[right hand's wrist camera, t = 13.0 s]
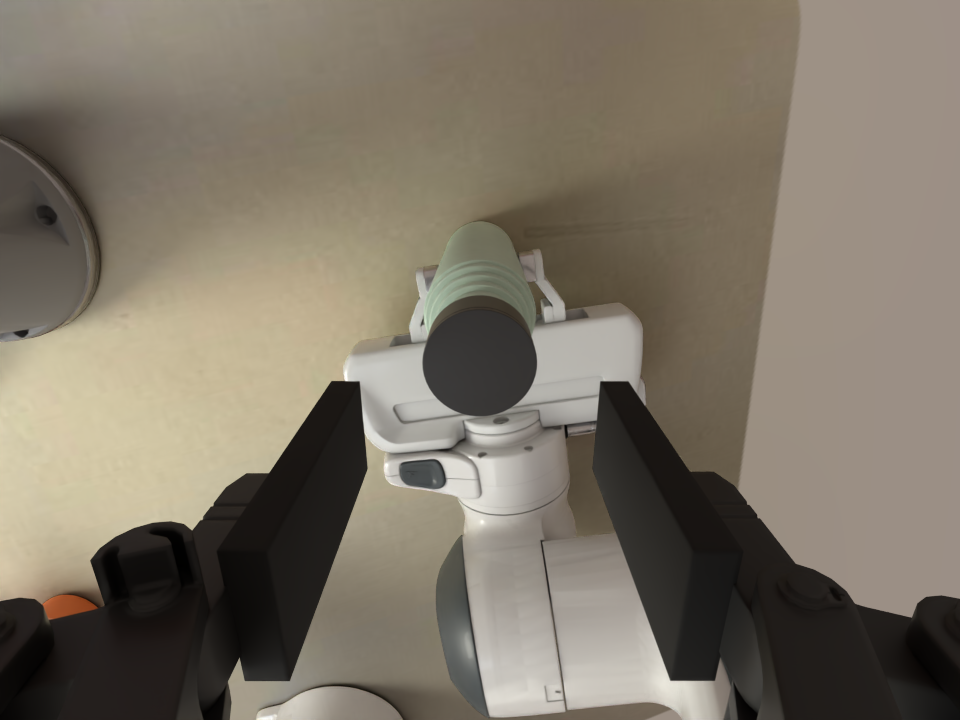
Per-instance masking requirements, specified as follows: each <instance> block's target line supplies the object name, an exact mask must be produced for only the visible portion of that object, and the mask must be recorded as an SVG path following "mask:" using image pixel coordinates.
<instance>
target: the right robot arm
mask: <svg viewBox="0 0 960 720" xmlns="http://www.w3.org/2000/svg"><path fill="white" fill-rule="evenodd" d="M99 269H100V258H99V248H98V243H97V238H96V235H95V232H94V228H93V226H92V223H91V221H90V218H89V216H88V214H87V212H86V210H85V208H84V206H83V205H82V203H81V201H80V200H79V198H78V197H77V195H76V194H75V192H74V191H73V190H72V188H71V187H70V186H69V185H68V183H67V182H66V181H65V180H64V179H63V178H62V176H61V175H60V174H59V173H58V172H57V171H56V170H55V169H54V168H52V167H51V166H50V165H49V164H48V163H47V162H46V161H44V160H43V159H42V158H41V157H39V156H38V155H37V154H35V153H34V152H32V151H31V150H29V149H28V148H26V147H24V146H22V145H21V144H19V143H17V142H15V141H13V140H11V139H8V138H6V137H4V136H1V135H0V342H7V341H17V340H23V339H28V338H33V337H37V336H41V335H43V334H46V333H48V332H51V331H54V330H56V329H59V328H61V327H63V326H65V325H67V324H68V323H70V322H71V321H73V320H74V319H75V318H76V317H78V316H79V315H80V314H81V313H82V312H83V310H84V309H85V308H86V307H87V305H88V304H89V302H90V300H91V298H92V296H93V294H94V292H95V289H96V286H97V282H98V277H99ZM366 472H367V457H366V446H365V435H364V423H363V412H362V400H361V389H360V381H331V383H330V384H329V386H328V387H327V389H326V390H325V392H324V393H323V395H322V396H321V398H320V399H319V400H318V402H317V403H316V405H315V406H314V408H313V409H312V411H311V412H310V414H309V415H308V417H307V418H306V420H305V421H304V423H303V424H302V426H301V427H300V428H299V430H298V431H297V433H296V434H295V436H294V437H293V439H292V440H291V442H290V443H289V445H288V446H287V448H286V449H285V451H284V452H283V454H282V455H281V457H280V458H279V459H278V461H277V462H276V464H275V465H274V467H273V468H272V470H271V471H270V473H246V474H245V475H244V476H242V477H241V478H239V479H238V480H236V481H235V482H233V483H232V484H230V485H229V486H227V487H226V488H225V489H224V491H223V492H222V493H221V495H220V496H219V497H218V498H217V500H216V501H215V502H214V506H213V507H210V509H209V510H208V511H207V513H206V514H205V515H204V516H203V520H200V522H199V523H198V524H197V525H196V527H195V528H194V529H193V530H191V529H189V528H188V527H187V526H186V525H184V524H181V523H176V522H171V521H170V522H157V523H151V524H147V525H144V526H140V527H136V528H133V529H131V530H129V531H127V532H125V533H123V534H121V535H119V536H116V537H115V538H113V539H112V540H111V541H109V542H108V543H107V544H105V545H104V546H102V547H101V548H100V549H99V550H98V551H97V553H96V554H95V555H94V556H93V558H92V559H91V560H90V561H91V564H92V567H93V570H94V573H95V576H96V579H97V583H98V586H99V589H100V592H101V595H102V598H103V601H104V604H105V606H104V607H101V608H98V609H94V610H90V611H85V612H81V613H77V614H73V615H68V616H64V617H60V618H55V619H51V620H49V619H48V617H47V614H46V611H45V609H44V606H43V605H42V604H40V603H39V602H38V601H36V600H35V599H27V598H15V599H10V600H5V601H0V720H230V711H231V696H230V689H229V685H228V680H229V678H230V676H231V674H232V672H233V670H234V668H235V666H236V664H237V661H238V659H239V657H240V661H241V665H242V670H243V674H244V679H245V681H290V679H291V676H292V673H293V671H294V668H295V665H296V662H297V660H298V657H299V654H300V651H301V649H302V646H303V643H304V641H305V638H306V635H307V632H308V630H309V627H310V624H311V622H312V619H313V616H314V613H315V611H316V608H317V605H318V602H319V600H320V597H321V594H322V592H323V589H324V586H325V583H326V581H327V578H328V575H329V572H330V570H331V567H332V564H333V562H334V559H335V556H336V553H337V551H338V548H339V545H340V542H341V540H342V537H343V534H344V532H345V529H346V526H347V523H348V521H349V518H350V515H351V512H352V510H353V507H354V504H355V502H356V499H357V496H358V493H359V491H360V488H361V485H362V483H363V480H364V477H365V474H366ZM593 472H594V474H595V477H596V480H597V483H598V485H599V488H600V491H601V493H602V496H603V499H604V502H605V504H606V507H607V510H608V512H609V515H610V518H611V521H612V523H613V526H614V529H615V532H616V534H617V537H618V540H619V542H620V545H621V548H622V551H623V553H624V556H625V559H626V562H627V564H628V567H629V570H630V572H631V575H632V578H633V581H634V583H635V586H636V589H637V592H638V594H639V597H640V600H641V602H642V605H643V608H644V611H645V613H646V616H647V619H648V622H649V624H650V627H651V630H652V632H653V635H654V638H655V641H656V643H657V646H658V649H659V651H660V654H661V657H662V660H663V662H664V665H665V668H666V671H667V673H668V676H669V679H670V681H715V679H716V674H717V670H718V665H719V661H720V656H721V657H722V659H723V661H724V663H725V665H726V667H727V669H728V671H729V673H730V675H731V677H732V679H733V681H732V685H731V689H730V694H729V698H728V702H727V706H726V710H725V715H724V719H723V720H960V599H957V598H952V597H947V596H931V597H925V598H924V599H923V600H921V601H920V602H919V603H918V604H917V606H916V609H915V611H914V614H913V617H912V618H910V617H906V616H902V615H897V614H893V613H889V612H884V611H880V610H876V609H871V608H867V607H863V606H860V605H857V604H855V603H854V602H853V600H852V599H851V597H850V596H849V594H848V593H847V591H845V590H844V589H843V588H842V587H841V586H839V585H838V584H837V583H836V582H835V581H833V580H832V579H831V578H829V577H827V576H825V575H823V574H821V573H819V572H817V571H816V570H813V569H810V568H807V567H804V566H801V565H797V564H795V562H794V561H793V560H792V559H791V557H790V556H789V555H788V554H787V552H786V551H785V550H784V548H783V547H782V546H781V545H780V543H779V542H778V541H777V540H776V538H775V537H774V536H773V534H772V533H771V532H770V531H769V529H768V528H767V527H766V526H765V524H764V523H763V522H762V520H761V519H759V518H757V514H756V513H755V512H754V510H753V509H752V508H751V506H750V505H747V502H746V500H745V499H744V498H743V496H742V495H741V494H740V492H739V491H738V490H737V489H736V487H735V486H734V485H733V484H731V483H730V482H728V481H727V480H725V479H724V478H722V477H721V476H719V475H718V474H716V473H715V472H690V471H689V470H688V468H687V467H686V465H685V464H684V462H683V461H682V459H681V458H680V457H679V455H678V454H677V452H676V451H675V449H674V448H673V446H672V445H671V443H670V442H669V440H668V439H667V437H666V436H665V434H664V433H663V431H662V430H661V428H660V427H659V426H658V424H657V423H656V421H655V420H654V418H653V417H652V415H651V414H650V412H649V411H648V409H647V408H646V406H645V405H644V403H643V402H642V400H641V399H640V398H639V396H638V395H637V393H636V392H635V390H634V389H633V387H632V386H631V384H630V383H629V381H600V389H599V400H598V412H597V423H596V435H595V446H594V457H593Z"/></svg>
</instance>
